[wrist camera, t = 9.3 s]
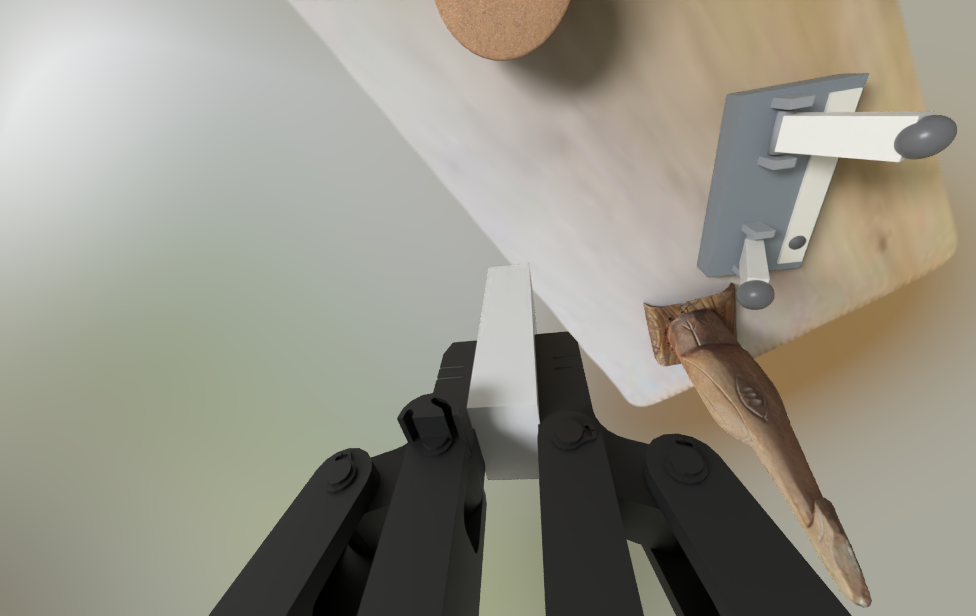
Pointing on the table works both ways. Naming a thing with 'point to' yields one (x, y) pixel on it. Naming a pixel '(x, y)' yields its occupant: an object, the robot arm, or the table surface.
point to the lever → (754, 276)
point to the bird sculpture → (753, 419)
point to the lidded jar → (502, 25)
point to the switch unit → (769, 175)
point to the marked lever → (862, 134)
